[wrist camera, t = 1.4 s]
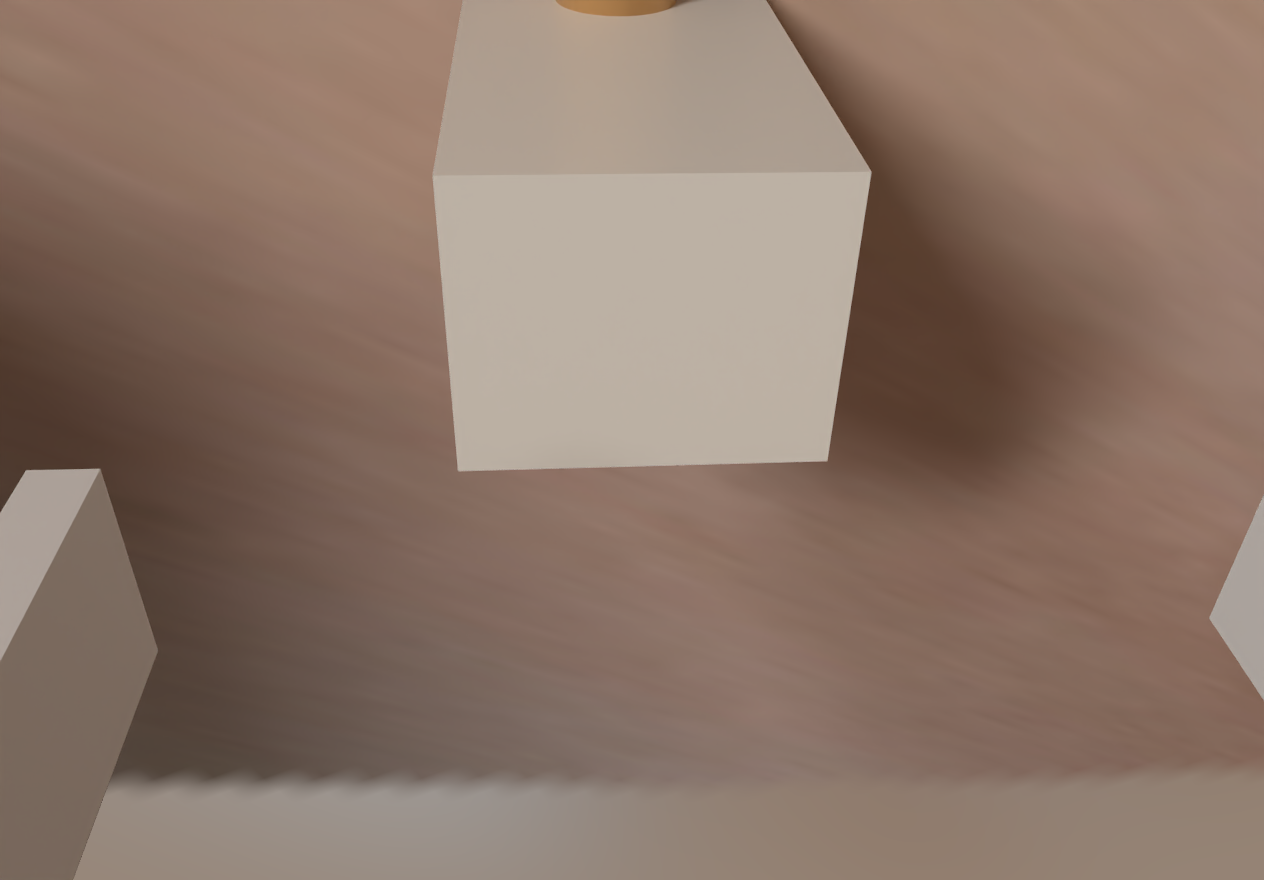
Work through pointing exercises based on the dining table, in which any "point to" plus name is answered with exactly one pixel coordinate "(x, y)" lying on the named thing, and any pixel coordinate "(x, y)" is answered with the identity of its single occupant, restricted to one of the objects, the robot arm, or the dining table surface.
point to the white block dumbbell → (642, 236)
